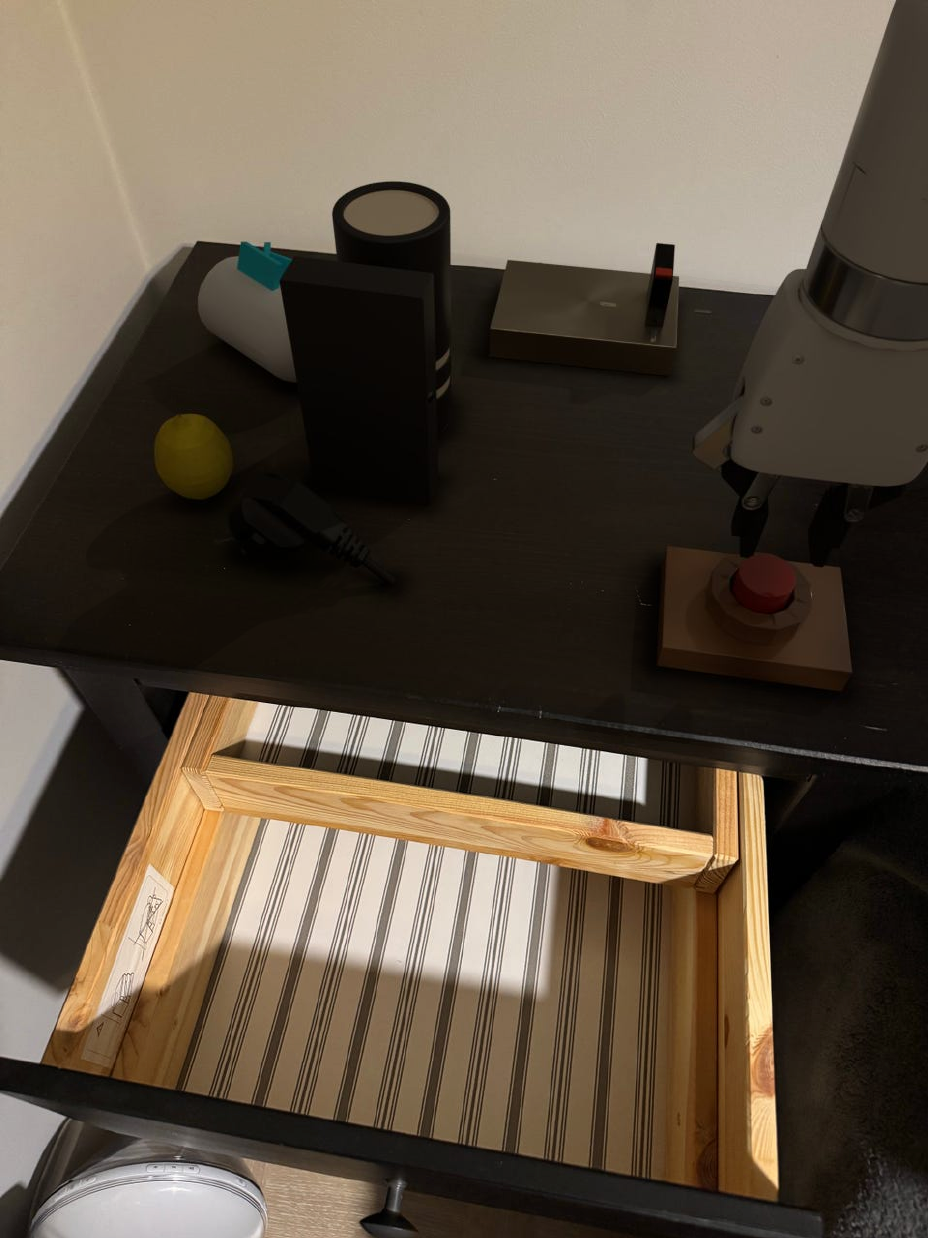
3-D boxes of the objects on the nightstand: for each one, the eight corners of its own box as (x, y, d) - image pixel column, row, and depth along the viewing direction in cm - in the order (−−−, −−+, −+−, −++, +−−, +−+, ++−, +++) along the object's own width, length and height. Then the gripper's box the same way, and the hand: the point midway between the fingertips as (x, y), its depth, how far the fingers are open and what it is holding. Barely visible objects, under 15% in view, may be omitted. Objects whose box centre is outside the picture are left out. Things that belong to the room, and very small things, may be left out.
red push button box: (830, 587, 65) (849, 549, 61) (841, 691, 59) (862, 656, 56) (661, 565, 66) (671, 527, 63) (656, 666, 60) (667, 630, 57)
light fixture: (470, 393, 78) (473, 188, 63) (433, 506, 69) (427, 298, 55) (360, 378, 79) (339, 173, 65) (311, 486, 70) (275, 278, 56)
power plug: (381, 607, 62) (237, 496, 59) (334, 641, 68) (200, 542, 65) (414, 550, 65) (279, 442, 62) (366, 587, 71) (240, 490, 68)
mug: (300, 289, 69) (205, 231, 74) (280, 399, 74) (193, 338, 79) (404, 287, 78) (313, 235, 83) (380, 385, 83) (295, 331, 88)
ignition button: (786, 575, 60) (794, 557, 59) (789, 617, 58) (797, 600, 57) (732, 568, 61) (738, 550, 59) (732, 609, 59) (739, 592, 57)
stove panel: (703, 307, 85) (711, 277, 83) (702, 380, 79) (710, 349, 76) (506, 287, 87) (507, 257, 85) (489, 357, 81) (490, 326, 78)
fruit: (245, 514, 69) (224, 432, 62) (171, 527, 68) (141, 446, 61) (237, 465, 72) (216, 383, 66) (166, 477, 71) (138, 395, 65)
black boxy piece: (647, 289, 82) (656, 239, 78) (665, 290, 82) (675, 241, 78) (644, 324, 79) (654, 274, 75) (663, 326, 78) (673, 276, 75)
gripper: (1063, 249, 43) (910, 519, 57) (709, 217, 44) (647, 487, 59) (1104, 343, 38) (926, 610, 53) (708, 304, 40) (642, 573, 55)
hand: (780, 543), depth 56 cm, fingers open, 3 cm apart
